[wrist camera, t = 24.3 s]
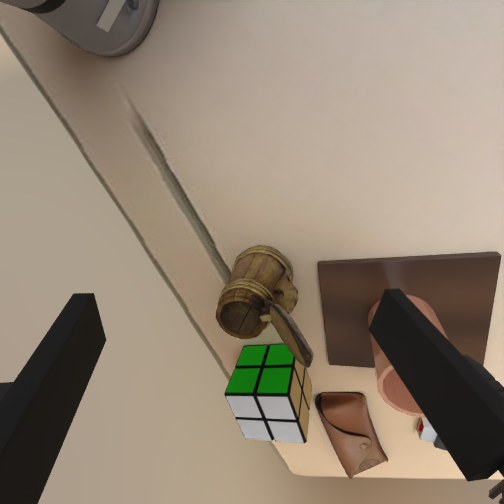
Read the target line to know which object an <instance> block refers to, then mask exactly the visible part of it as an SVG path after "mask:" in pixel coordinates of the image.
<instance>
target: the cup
mask: <svg viewBox="0 0 504 504" xmlns="http://www.w3.org/2000/svg"><path fill="white" fill-rule="evenodd" d="M406 296H407V297H408V298H409V299H410V300H411V301H412V302H413V303H414V304H415V305H416V306H417V307H418V309H419V310H420V311H421V312H422V313H423V314H424V315H425V316H426V317H427V318H428V319H429V320H430V321H431V322H432V323H433V324H434V325H435V326H436V328H437V329H438V330H439V331H440V332H441V333H442V334H443V335H444V336H445V337H446V338H447V336H446V334H445V332H444V330H443V328H442V326H441V324H440V322H439V320H438V318H437V316H436V314H435V313H434V311H433V309H432V308H431V306H430V305H429V304H428V303H426V302H425V301H424V300H422V299H420V298H417V297H415V296H411V295H406ZM379 302H380V300H379V301H378V302H376V303H375V304H374V305H373V306H372V308H371V309H370V311H369V314H368V329H369V327H370V324H371V322H372V319H373V317H374V315H375V312H376V310H377V307H378V305H379ZM369 335H370V342H371V348H372V355H373V361H374V368H375V374H376V380H377V387H378V391H379V393H380V395H381V396H382V398H383V399H384V401H385V402H386V403H387V404H389V405H390V406H391V407H393V408H394V409H396V410H397V411H400V412H403V413H405V414H408V415H411V416H416V417H425V415H424V414H423V412H422V411H421V409H420V408H419V406H418V405H417V403H416V402H415V400H414V399H413V397H412V395H411V394H410V392H409V391H408V389H407V388H406V386H405V385H404V383H403V382H402V380H401V379H400V377H399V376H398V374H397V373H396V371H395V369H394V368H393V366H392V365H391V363H390V362H389V360H388V359H387V357H386V356H385V354H384V353H383V351H382V350H381V348H380V347H379V345H378V344H377V342H376V340H375V339H374V337H373V336H372V334H371V333H370V331H369ZM447 339H448V338H447ZM425 418H426V417H425Z"/></svg>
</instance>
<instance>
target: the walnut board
mask: <svg viewBox="0 0 504 504" xmlns="http://www.w3.org/2000/svg"><path fill="white" fill-rule="evenodd" d="M500 261H501V255H500V254H499V253H498V252H483V253H465V254H446V255H428V256H410V257H392V258H373V259H355V260H337V261H319V262H318V271H319V280H320V288H321V297H322V306H323V314H324V323H325V331H326V340H327V349H328V357H329V365H340V366H355V367H371V368H374V361H373V355H372V348H371V342H370V335H369V330H368V314H369V311H370V309H371V308H372V306H373V305H374V304H375V303H376V302H378V301H379V300H381V298H382V295H383V293H384V290H385V289H395V288H400V290H401V291H402V292H403V293H404V294H405V295H411V296H415V297H417V298H420V299H422V300H424V301H425V302H426V303H428V304H429V305H430V306H431V308H432V309H433V311H434V313H435V314H436V316H437V318H438V320H439V322H440V324H441V326H442V328H443V330H444V332H445V334H446V336H447V338H448V340H449V341H450V342H451V343H452V344H453V345H454V347H455V348H456V349H457V350H458V351H459V352H460V353H461V354H462V355H468V356H470V357H471V358H472V359H474V360H475V361H477V362H478V363H479V364H481V365H482V366H483V364H484V358H485V352H486V346H487V340H488V334H489V328H490V321H491V315H492V309H493V303H494V297H495V291H496V285H497V279H498V273H499V267H500Z"/></svg>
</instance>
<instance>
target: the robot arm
mask: <svg viewBox="0 0 504 504" xmlns="http://www.w3.org/2000/svg"><path fill="white" fill-rule="evenodd" d="M0 2H3V3H6V4H9V5H12V6H15V7H18V8H21V9H23V10H26V11H29V12H31V13H33V14H34V15H36V16H37V17H39V18H40V19H41V20H43V21H44V22H46V23H47V24H48V25H50V26H51V27H53V28H54V29H55V30H57V31H58V32H59V33H60V34H61V35H62V36H64V37H65V38H66V39H67V40H69V41H70V42H71V43H73V44H75V45H76V46H77V47H79V48H81V49H83V50H86V51H88V52H92V53H95V54H99V55H102V56H120V55H123V54H125V53H127V52H129V51H131V50H132V49H134V48H135V47H136V46H137V45H138V44H139V43H140V42H141V41H142V40H143V38H144V37H145V36H146V34H147V32H148V31H149V29H150V27H151V24H152V22H153V19H154V17H155V13H156V9H157V5H158V0H0ZM368 330H369V331H370V333H371V334H372V336H373V337H374V339H375V340H376V342H377V344H378V345H379V347H380V348H381V350H382V351H383V353H384V354H385V356H386V357H387V359H388V360H389V362H390V363H391V365H392V366H393V368H394V369H395V371H396V373H397V374H398V376H399V377H400V379H401V380H402V382H403V383H404V385H405V386H406V388H407V389H408V391H409V392H410V394H411V395H412V397H413V399H414V400H415V402H416V403H417V405H418V406H419V408H420V409H421V411H422V412H423V414H424V415H425V417H426V418H427V420H428V421H429V423H430V424H431V426H432V428H433V429H434V431H435V432H436V434H437V435H438V437H439V438H440V440H441V441H442V443H443V444H444V446H445V447H446V449H447V450H448V452H449V453H450V455H451V457H452V458H453V460H454V461H455V463H456V464H457V466H458V467H459V469H460V470H461V472H462V473H463V475H464V476H465V478H466V479H467V481H474V480H481V479H488V478H489V477H490V476H491V475H493V474H494V473H495V472H496V471H497V470H499V472H500V473H501V474H502V476H503V477H504V387H503V386H502V385H501V384H500V383H499V382H498V381H495V378H494V377H493V376H492V375H491V374H490V373H489V372H488V371H487V370H486V369H485V368H484V367H483V366H482V365H481V364H479V363H478V362H477V361H475V360H474V359H472V358H471V357H470V356H468V355H462V354H461V353H460V352H459V351H458V350H457V349H456V348H455V347H454V345H453V344H452V343H451V342H450V341H449V340H448V339H447V338H446V337H445V336H444V335H443V334H442V333H441V332H440V331H439V330H438V329H437V328H436V326H435V325H434V324H433V323H432V322H431V321H430V320H429V319H428V318H427V317H426V316H425V315H424V314H423V313H422V312H421V311H420V310H419V309H418V307H417V306H416V305H415V304H414V303H413V302H412V301H411V300H410V299H409V298H408V297H407V296H406V295H405V294H404V293H403V292H402V291H401V290H400V288H395V289H385V290H384V293H383V295H382V298H381V300H380V302H379V305H378V307H377V310H376V312H375V315H374V317H373V319H372V322H371V324H370V327H369V329H368ZM105 342H106V337H105V333H104V330H103V326H102V322H101V318H100V315H99V311H98V307H97V304H96V300H95V296H94V293H82V294H81V293H79V294H73V295H72V297H71V298H70V300H69V301H68V303H67V304H66V306H65V307H64V309H63V310H62V311H61V313H60V314H59V316H58V317H57V319H56V320H55V322H54V323H53V325H52V326H51V328H50V329H49V331H48V332H47V334H46V335H45V337H44V338H43V340H42V341H41V343H40V344H39V346H38V347H37V349H36V350H35V351H34V353H33V354H32V356H31V357H30V359H29V361H28V362H27V363H26V365H25V366H24V368H23V369H22V371H21V372H20V374H19V375H18V377H17V378H16V380H15V381H14V382H9V383H0V504H38V501H39V499H40V497H41V494H42V492H43V490H44V487H45V485H46V483H47V480H48V478H49V475H50V473H51V470H52V468H53V466H54V463H55V461H56V459H57V456H58V454H59V452H60V449H61V447H62V444H63V442H64V440H65V437H66V435H67V432H68V430H69V428H70V425H71V423H72V421H73V418H74V416H75V413H76V411H77V408H78V406H79V404H80V401H81V399H82V396H83V394H84V392H85V390H86V387H87V385H88V382H89V380H90V378H91V375H92V373H93V371H94V368H95V366H96V363H97V361H98V358H99V356H100V354H101V351H102V349H103V347H104V344H105ZM500 493H502V498H501V499H500V501H499V503H500V504H504V479H503V480H502V481H501V482H500V483H498V484H497V485H496V486H495V487H493V488H492V489H491V490H490V491H489V497H490V498H491V499H494V498H495V497H496V496H498V495H499V494H500Z"/></svg>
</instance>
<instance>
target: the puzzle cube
mask: <svg viewBox="0 0 504 504" xmlns="http://www.w3.org/2000/svg"><path fill="white" fill-rule="evenodd" d="M235 368H236V369H234V371H233V374H232V376H231V379H230V381H229V384H228V386H227V388H226V391H225V397H226V399H227V401H228V403H229V405H230V407H231V409H232V411H233V414H234V416H235V417H236V420H237V422H238V424H239V426H240V428H241V431H242V433H243V435H244V437H245V438H246V439H255V440H267V441H272V440H273V439H274V440H275V441H279V442H291V443H306V442H307V433H308V422H309V410H310V401H311V390H312V386H311V383H310V380H309V377H308V373H307V370H306V368H305V366H303V365H301V364H300V363H299V362H298V361H297V360H296V359H295V357H294V356H293V355H292V353H291V352H290V351H289V349H288V348H287V346H286V345H285V344H277V345H270V346H269V345H261V346H244V347H243V349H242V352H241V354H240V357H239V359H238V361H237V364H236V366H235Z"/></svg>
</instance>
